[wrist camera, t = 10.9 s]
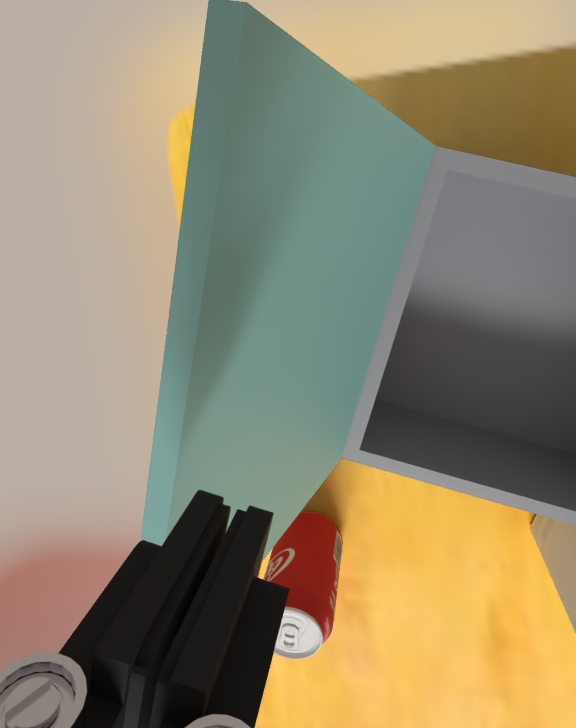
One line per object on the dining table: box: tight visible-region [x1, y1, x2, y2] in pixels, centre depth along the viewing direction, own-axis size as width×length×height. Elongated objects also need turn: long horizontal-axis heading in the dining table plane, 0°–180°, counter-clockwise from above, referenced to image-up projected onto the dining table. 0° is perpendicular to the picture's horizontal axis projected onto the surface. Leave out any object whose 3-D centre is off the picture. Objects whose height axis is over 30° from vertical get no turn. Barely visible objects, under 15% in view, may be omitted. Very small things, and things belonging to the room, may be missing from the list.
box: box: [342, 146, 576, 525], centre depth 34 cm, size 20×20×10 cm
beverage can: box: [263, 512, 343, 659], centre depth 43 cm, size 6×6×12 cm
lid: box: [141, 0, 436, 561], centre depth 21 cm, size 20×20×1 cm
